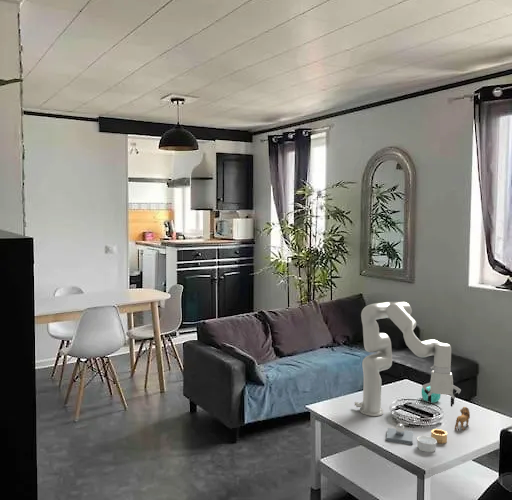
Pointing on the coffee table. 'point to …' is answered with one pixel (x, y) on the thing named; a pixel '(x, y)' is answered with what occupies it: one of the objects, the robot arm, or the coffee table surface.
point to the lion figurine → (463, 418)
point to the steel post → (399, 429)
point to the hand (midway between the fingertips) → (440, 404)
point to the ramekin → (426, 443)
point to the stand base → (400, 439)
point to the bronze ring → (439, 435)
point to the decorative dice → (433, 396)
